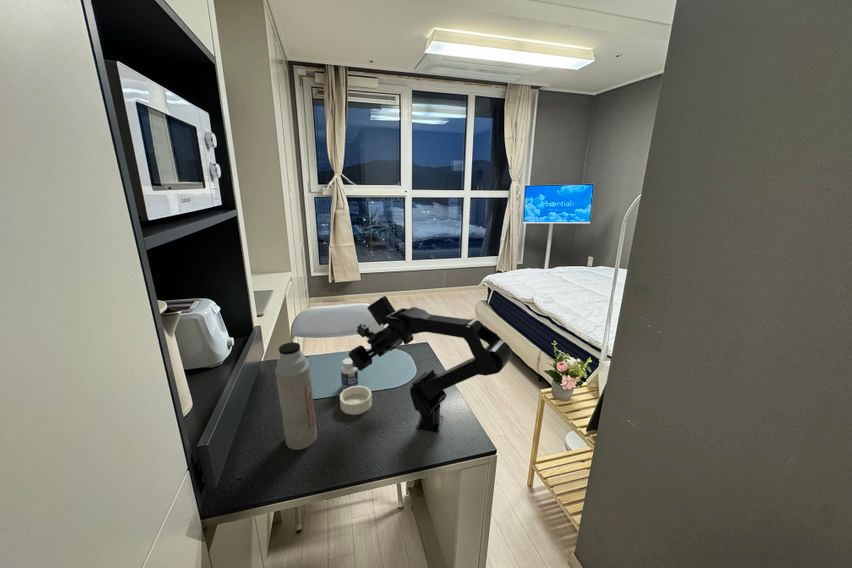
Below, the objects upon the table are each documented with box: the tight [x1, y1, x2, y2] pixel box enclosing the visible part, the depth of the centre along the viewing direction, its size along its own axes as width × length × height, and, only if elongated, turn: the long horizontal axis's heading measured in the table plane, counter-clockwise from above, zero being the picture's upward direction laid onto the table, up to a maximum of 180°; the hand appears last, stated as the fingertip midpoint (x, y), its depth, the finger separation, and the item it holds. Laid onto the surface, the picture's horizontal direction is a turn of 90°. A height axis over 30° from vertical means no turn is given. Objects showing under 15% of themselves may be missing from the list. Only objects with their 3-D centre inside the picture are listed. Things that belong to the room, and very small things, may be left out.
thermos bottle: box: [274, 341, 318, 451], centre depth 90 cm, size 8×8×28 cm
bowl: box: [339, 385, 373, 416], centre depth 107 cm, size 10×10×4 cm
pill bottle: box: [340, 357, 359, 390], centre depth 115 cm, size 5×5×10 cm
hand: (363, 359), depth 109 cm, fingers open, 9 cm apart
